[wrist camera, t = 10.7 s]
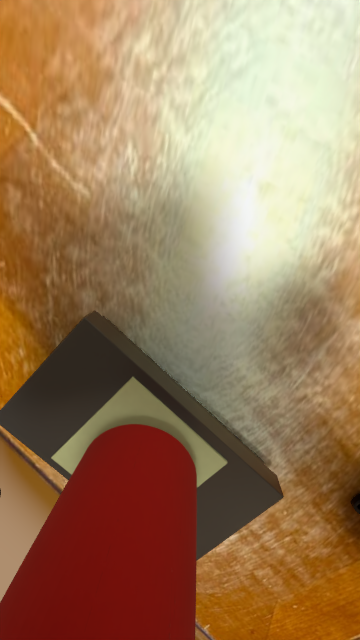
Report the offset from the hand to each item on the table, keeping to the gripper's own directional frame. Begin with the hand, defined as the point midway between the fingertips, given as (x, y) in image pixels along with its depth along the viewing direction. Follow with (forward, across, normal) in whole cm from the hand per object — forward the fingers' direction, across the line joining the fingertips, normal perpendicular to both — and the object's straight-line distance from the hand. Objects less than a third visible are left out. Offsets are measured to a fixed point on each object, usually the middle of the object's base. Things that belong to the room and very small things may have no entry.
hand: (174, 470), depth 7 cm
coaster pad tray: (+12, +4, +7) cm, 15 cm away
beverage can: (+10, +4, +7) cm, 13 cm away
